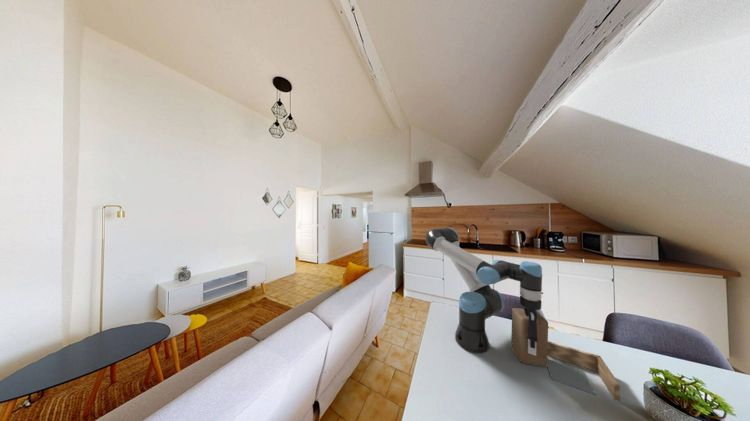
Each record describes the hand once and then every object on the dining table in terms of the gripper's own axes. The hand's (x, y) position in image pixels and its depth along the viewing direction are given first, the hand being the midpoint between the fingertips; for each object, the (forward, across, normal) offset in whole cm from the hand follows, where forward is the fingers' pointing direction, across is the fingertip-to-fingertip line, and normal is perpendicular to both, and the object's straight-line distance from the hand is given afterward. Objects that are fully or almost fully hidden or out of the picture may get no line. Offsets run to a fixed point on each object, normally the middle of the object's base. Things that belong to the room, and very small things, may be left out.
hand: (529, 344), depth 87 cm
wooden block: (+6, 0, 0) cm, 6 cm away
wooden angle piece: (+6, 0, -15) cm, 17 cm away
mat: (+6, -3, -12) cm, 14 cm away
